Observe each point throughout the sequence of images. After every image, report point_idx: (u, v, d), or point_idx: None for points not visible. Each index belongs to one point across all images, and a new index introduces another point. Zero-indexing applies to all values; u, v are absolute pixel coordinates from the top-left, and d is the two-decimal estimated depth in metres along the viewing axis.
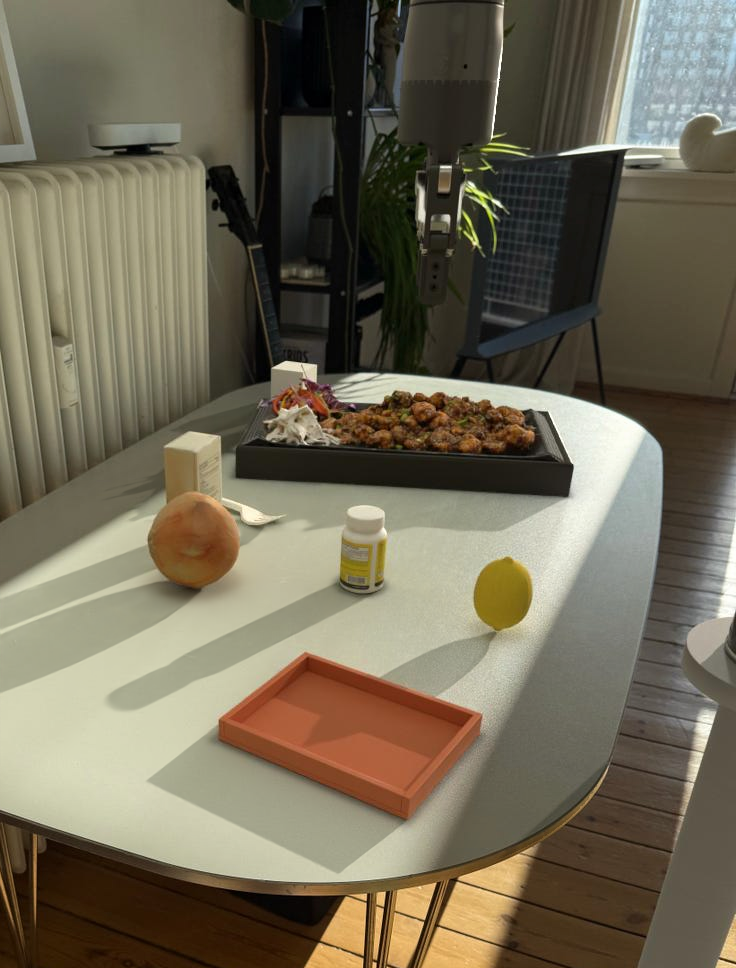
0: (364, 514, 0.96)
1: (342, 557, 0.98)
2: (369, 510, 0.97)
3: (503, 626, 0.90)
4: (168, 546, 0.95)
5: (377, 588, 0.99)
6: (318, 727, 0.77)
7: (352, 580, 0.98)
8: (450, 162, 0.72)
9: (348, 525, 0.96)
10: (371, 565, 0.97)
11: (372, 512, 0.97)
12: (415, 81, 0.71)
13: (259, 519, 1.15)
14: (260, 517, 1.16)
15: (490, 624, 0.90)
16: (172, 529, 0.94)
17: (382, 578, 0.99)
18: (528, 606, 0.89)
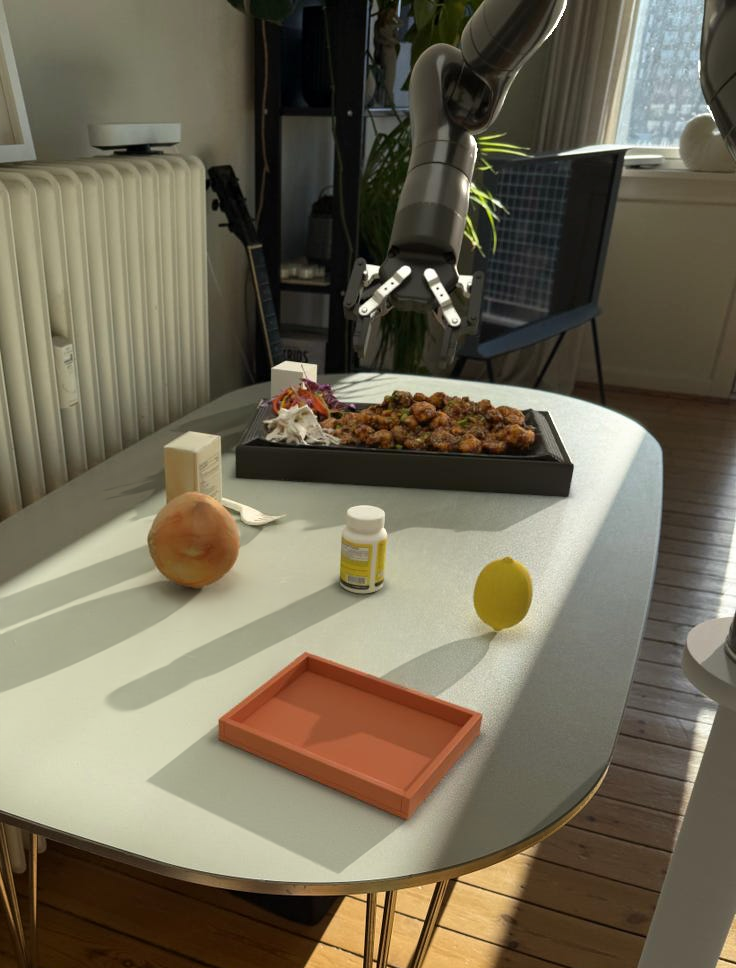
0: (364, 513, 0.96)
1: (342, 557, 0.98)
2: (369, 510, 0.97)
3: (503, 626, 0.90)
4: (168, 546, 0.95)
5: (377, 588, 0.99)
6: (318, 727, 0.77)
7: (352, 580, 0.98)
8: None
9: (348, 525, 0.96)
10: (371, 565, 0.97)
11: (372, 512, 0.97)
12: None
13: (259, 519, 1.15)
14: (260, 517, 1.16)
15: (490, 624, 0.90)
16: (172, 529, 0.94)
17: (382, 578, 0.99)
18: (528, 606, 0.89)
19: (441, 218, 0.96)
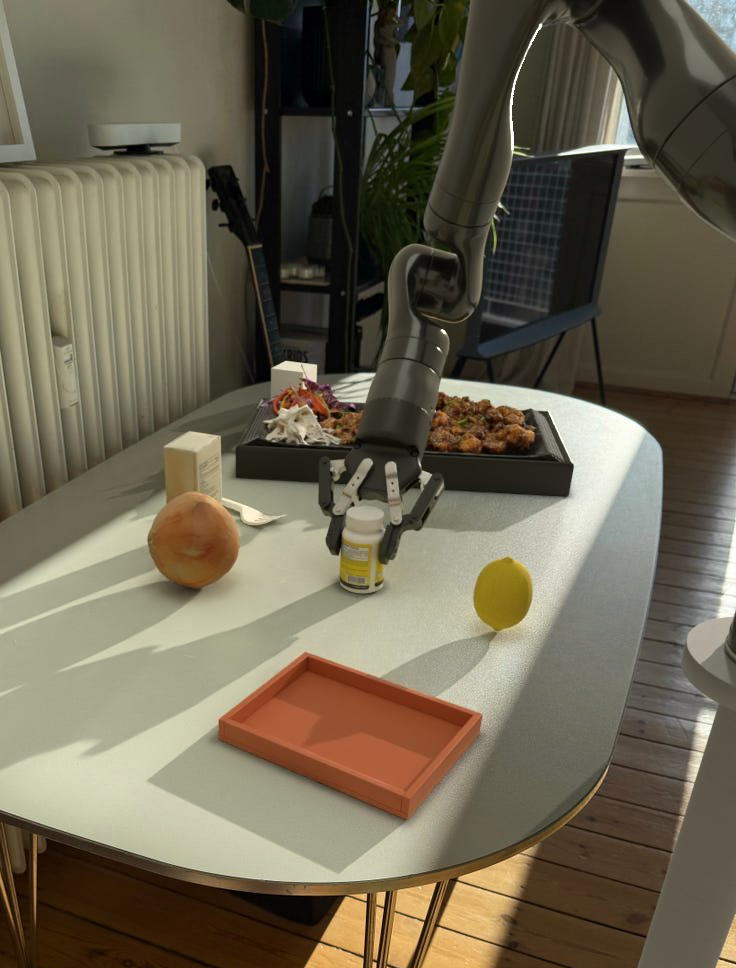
0: (364, 513, 0.96)
1: (342, 557, 0.98)
2: (368, 510, 0.97)
3: (503, 626, 0.90)
4: (168, 546, 0.95)
5: (377, 588, 0.99)
6: (318, 727, 0.77)
7: (352, 580, 0.98)
8: None
9: (348, 525, 0.96)
10: (371, 565, 0.97)
11: (372, 512, 0.97)
12: None
13: (259, 519, 1.15)
14: (260, 517, 1.16)
15: (490, 624, 0.90)
16: (172, 529, 0.94)
17: (382, 578, 0.99)
18: (528, 606, 0.89)
19: (403, 413, 0.97)
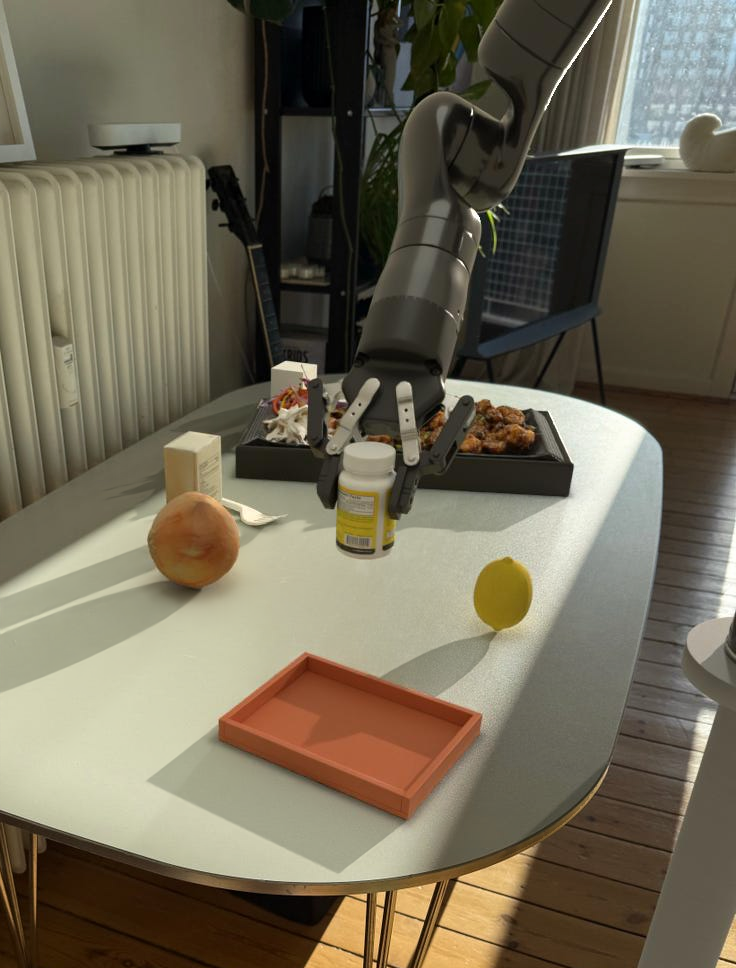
0: (368, 451, 0.71)
1: (339, 511, 0.73)
2: (374, 447, 0.72)
3: (503, 626, 0.90)
4: (168, 546, 0.95)
5: (386, 553, 0.74)
6: (318, 727, 0.77)
7: (352, 542, 0.73)
8: None
9: (346, 467, 0.71)
10: (377, 520, 0.72)
11: (379, 449, 0.72)
12: None
13: (259, 519, 1.15)
14: (260, 517, 1.16)
15: (490, 624, 0.90)
16: (172, 529, 0.94)
17: (392, 539, 0.74)
18: (528, 606, 0.89)
19: (420, 316, 0.72)
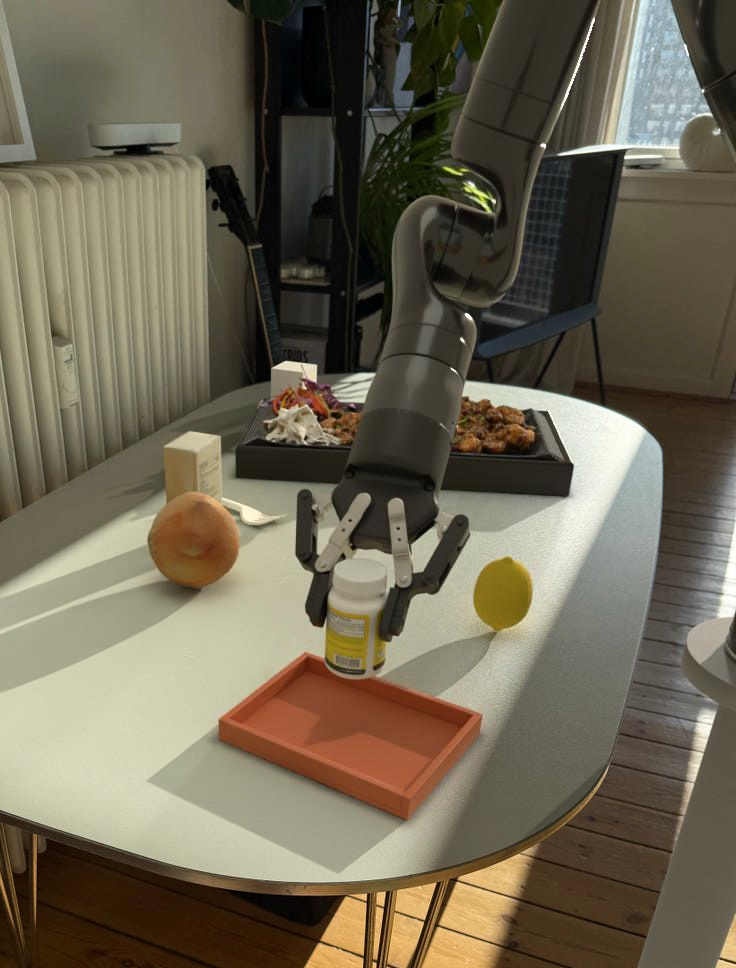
0: (359, 571, 0.69)
1: (328, 630, 0.71)
2: (365, 566, 0.70)
3: (503, 626, 0.90)
4: (168, 546, 0.95)
5: (376, 672, 0.72)
6: (318, 727, 0.77)
7: (341, 662, 0.71)
8: None
9: (336, 587, 0.69)
10: (368, 642, 0.70)
11: (370, 568, 0.69)
12: None
13: (259, 519, 1.15)
14: (260, 517, 1.16)
15: (490, 624, 0.90)
16: (172, 529, 0.94)
17: (383, 658, 0.72)
18: (528, 606, 0.89)
19: (413, 431, 0.69)
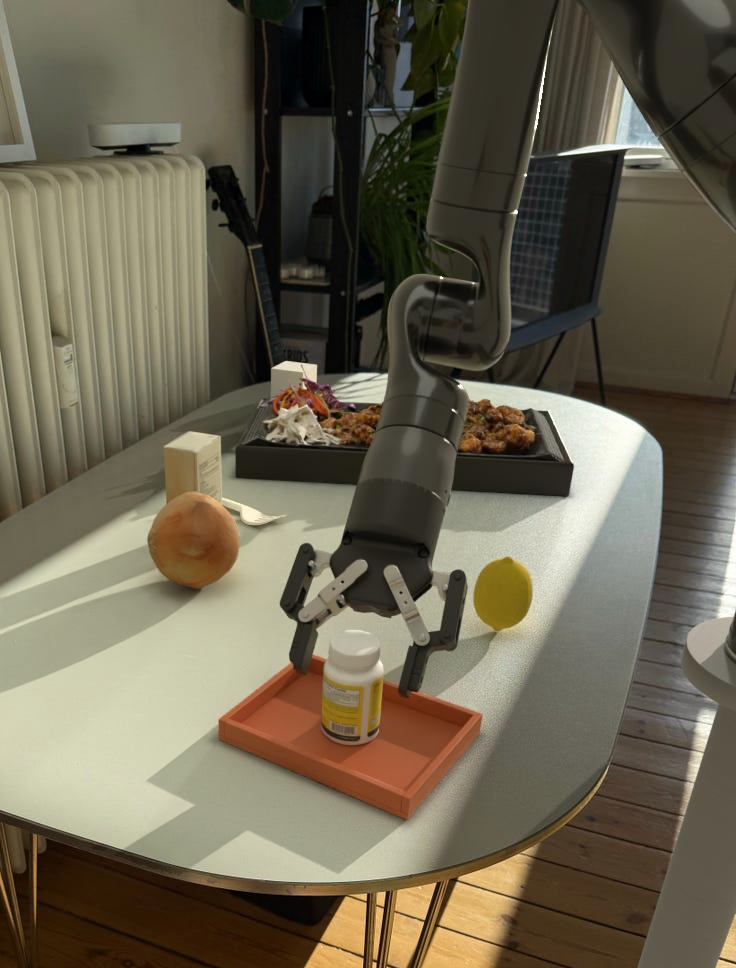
0: (353, 644, 0.72)
1: (324, 698, 0.74)
2: (359, 638, 0.73)
3: (503, 626, 0.90)
4: (168, 546, 0.95)
5: (371, 738, 0.75)
6: (318, 727, 0.77)
7: (337, 729, 0.74)
8: None
9: (332, 659, 0.72)
10: (362, 711, 0.73)
11: (364, 641, 0.72)
12: None
13: (259, 519, 1.15)
14: (260, 517, 1.16)
15: (490, 624, 0.90)
16: (172, 529, 0.94)
17: (377, 724, 0.75)
18: (528, 606, 0.89)
19: (407, 501, 0.72)
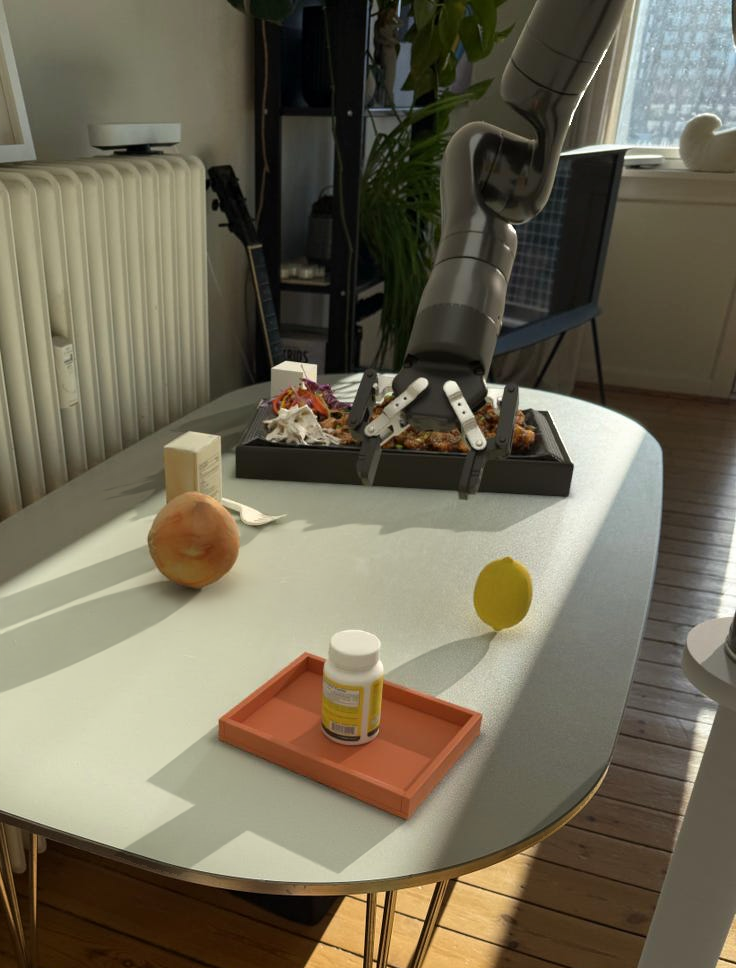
0: (353, 644, 0.72)
1: (324, 698, 0.74)
2: (359, 638, 0.73)
3: (503, 626, 0.90)
4: (168, 546, 0.95)
5: (371, 738, 0.75)
6: (318, 727, 0.77)
7: (337, 729, 0.74)
8: None
9: (332, 659, 0.72)
10: (362, 711, 0.73)
11: (364, 641, 0.72)
12: None
13: (259, 519, 1.15)
14: (260, 517, 1.16)
15: (490, 624, 0.90)
16: (172, 529, 0.94)
17: (377, 724, 0.75)
18: (528, 606, 0.89)
19: (465, 322, 0.79)
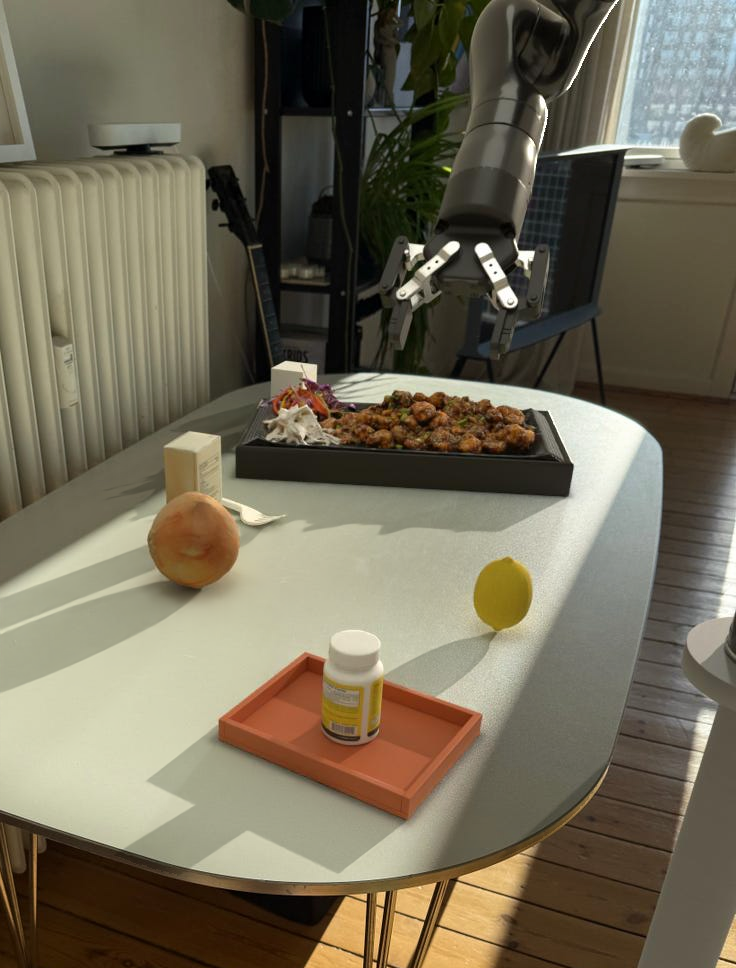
0: (353, 644, 0.72)
1: (324, 698, 0.74)
2: (359, 638, 0.73)
3: (503, 626, 0.90)
4: (168, 546, 0.95)
5: (371, 738, 0.75)
6: (318, 727, 0.77)
7: (337, 729, 0.74)
8: None
9: (332, 659, 0.72)
10: (362, 711, 0.73)
11: (364, 641, 0.72)
12: None
13: (259, 519, 1.15)
14: (260, 517, 1.16)
15: (490, 624, 0.90)
16: (172, 529, 0.94)
17: (377, 724, 0.75)
18: (528, 606, 0.89)
19: (497, 184, 0.80)
